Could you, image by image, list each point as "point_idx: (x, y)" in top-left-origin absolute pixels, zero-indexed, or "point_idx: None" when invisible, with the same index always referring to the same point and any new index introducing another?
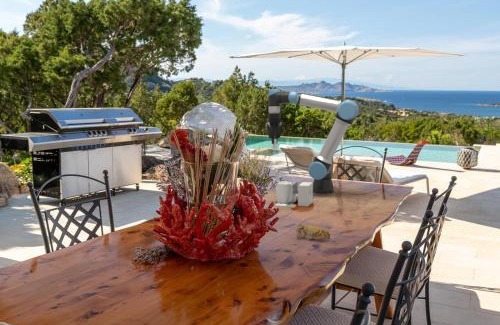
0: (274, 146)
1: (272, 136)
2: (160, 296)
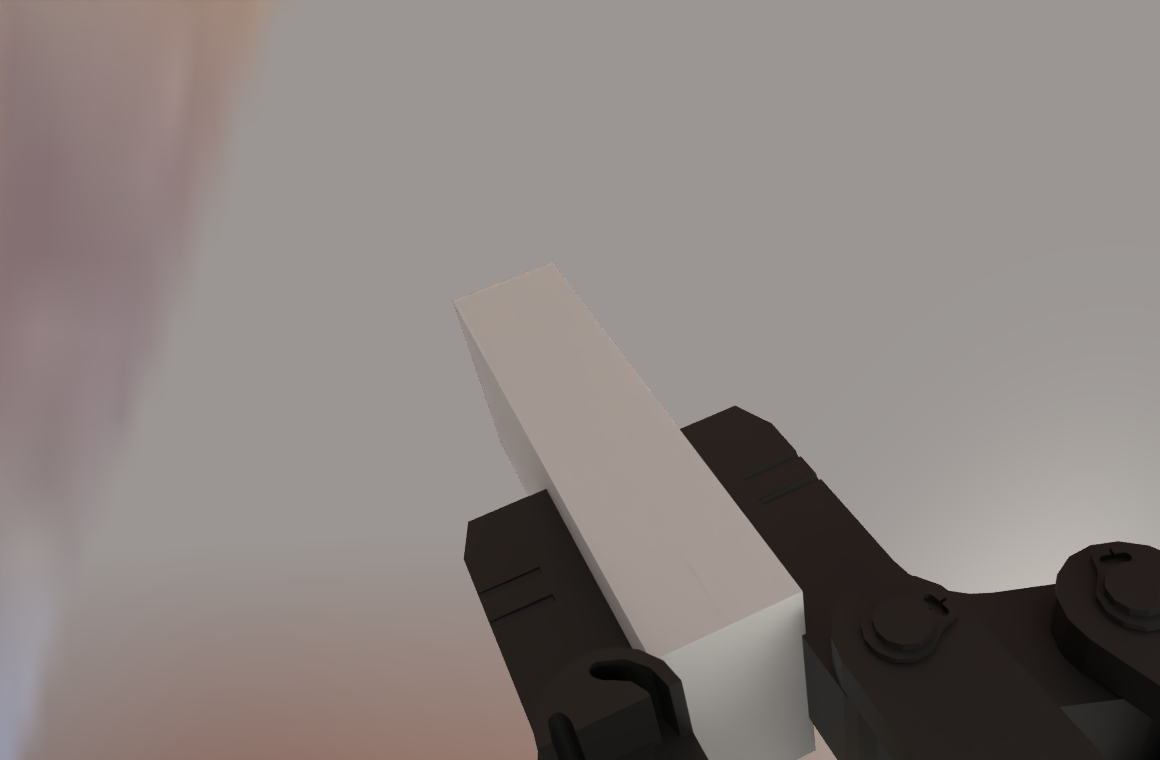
0: (600, 333)
1: (1046, 737)
2: None
